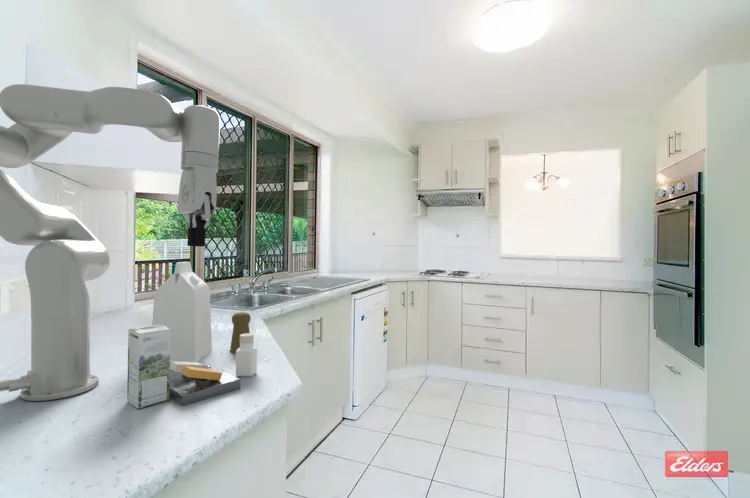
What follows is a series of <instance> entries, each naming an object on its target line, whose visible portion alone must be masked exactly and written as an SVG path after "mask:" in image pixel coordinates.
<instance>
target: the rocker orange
mask: <svg viewBox="0 0 750 498" xmlns="http://www.w3.org/2000/svg"><path fill="white" fill-rule="evenodd" d="M181 374H183V375H185V376H187V377H192V378H201V379H211V380H220V379H221V376H222V373H221V372H219V371H217V370H212V369H204V368H196V367H188V366H184V368H183V370H182V373H181Z"/></svg>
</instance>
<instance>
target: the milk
mask: <svg viewBox="0 0 750 498" xmlns="http://www.w3.org/2000/svg"><path fill="white" fill-rule="evenodd" d="M191 263H192V262H191V261H182V262H181V261H180V262H175V266H174V273H173V274H172V275H171V276H170V277H168V278H166V280H165V281H164V282H163V283H162V284H161V285H160V286H158V287H157V288H156V290H155V291H154V296H153V305H152V306H153V307H152V308H153V309H152V324H151V326H154V325H163V326H165V327H167V328H169V329H170V330H171V342H170V362H171V361H181V362H200V360H201V359H203V358H204V357H206V356H207V355H208V354H210V353H211V352H212V351H213V340H212V312H211V309H212V308H211V289H210V287H209V285H208V284H207V283H206V282H205V281H204V280H203V279H202V278H201V277H199V276H198V275H197V274H196V273H195V272H193V268H192V264H191Z"/></svg>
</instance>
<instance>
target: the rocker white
mask: <svg viewBox="0 0 750 498" xmlns="http://www.w3.org/2000/svg"><path fill="white" fill-rule="evenodd" d="M184 366H188V367H196V368H204V369H208V366H209V365H208V364H206V363H204V362H200V361H198V362H181V361H171V362H170V371H173V372H176V373H179V372H182V370H183V368H184Z"/></svg>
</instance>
